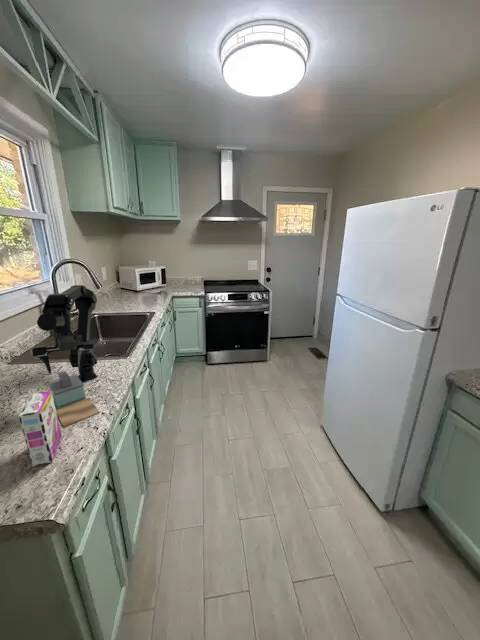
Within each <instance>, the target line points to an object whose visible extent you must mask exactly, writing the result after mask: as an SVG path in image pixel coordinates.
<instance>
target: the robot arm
mask: <svg viewBox="0 0 480 640" xmlns="http://www.w3.org/2000/svg"><path fill="white" fill-rule="evenodd" d="M97 298H98V297H97V295H96V294H95V292H94V291H92V290H90V289H88V288H87V287H86V286H85V285H84V284H82V285H81V284H80V285H79V284H78V285H77V284H76V285H70V287H69V288H67V289H65V290H64V291H63V292H58V293H51V294H48V295H47V297H46V299H45V301H44V305H43V306H42V307H43V308H42V311H41V315H39V316H38V318H37V321H36V324H37V326H38V328H39V329H41V330H42V331H44V332H45V331H46V332H48V331H52V339H53V346H46V345H38V346H31V347H30V349H29V351H30V356H32V357H35V358H37V359H40V360H41V362H43V364H44V367H45V368H46V370H47V372H48V374H49V375H52V369H51V364H50V358H49V355H48V354H47V353H52V352H66V351H70V354H69V356H68V358H69V359H68V361H69V362H70V364H71V367H72V368H77V371H78V375H77V376H78V378H79V379H80V380H81V382H82V383H84V382H87V381H90V380H93V379H95V378H98V375H97V374H96V372H95V368H94V366H95V365H98V356H97V355H96V354H95V353H94V350H93V349H95V344H94V342H93V341H91V340H90V334H91V333H90V332H91V319H92V318H91V316H92V313H93V311H94V310H95V309H96V305H97V303H98V299H97ZM74 306H75V307H76V309H77V310H78V316H77V317H78V318H77V329H76V335H74V334H73V330H72V319H71V316H72V313H71V312H70V311H71V310H72V309H73V307H74Z"/></svg>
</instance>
